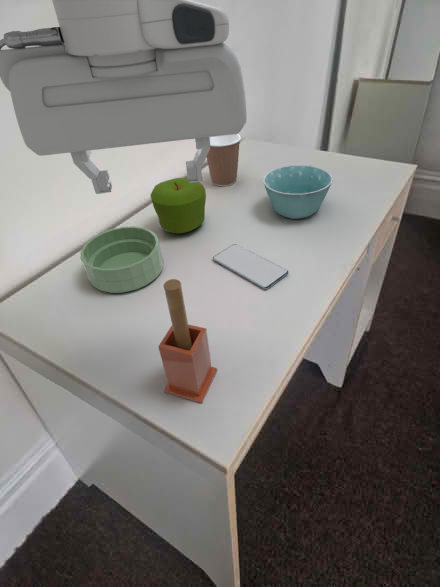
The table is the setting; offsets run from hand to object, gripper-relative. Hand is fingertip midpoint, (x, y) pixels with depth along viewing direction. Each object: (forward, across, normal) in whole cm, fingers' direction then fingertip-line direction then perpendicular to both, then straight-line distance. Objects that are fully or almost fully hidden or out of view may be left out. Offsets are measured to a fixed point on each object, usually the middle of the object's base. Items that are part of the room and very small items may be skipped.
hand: (150, 185), depth 38 cm
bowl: (+29, +29, +42) cm, 59 cm away
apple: (+29, +2, +41) cm, 50 cm away
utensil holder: (+29, +1, -4) cm, 29 cm away
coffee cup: (+29, +15, +64) cm, 71 cm away
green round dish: (+29, -11, +26) cm, 40 cm away
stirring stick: (+28, +1, -4) cm, 29 cm away
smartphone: (+29, +14, +22) cm, 39 cm away
